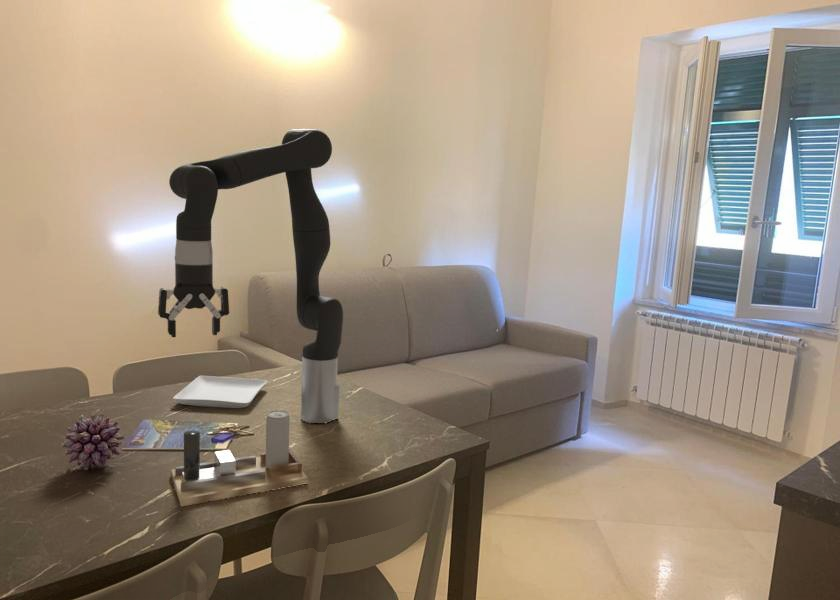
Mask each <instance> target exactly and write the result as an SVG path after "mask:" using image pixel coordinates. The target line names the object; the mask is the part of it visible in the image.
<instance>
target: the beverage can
mask: <svg viewBox="0 0 840 600" xmlns="http://www.w3.org/2000/svg"><path fill="white" fill-rule="evenodd" d="M290 419H291V418H290V413H289V412H288V411H285V410H278V409H277V410H272V411H269V412H267V413H266V419H265V420H266V421H265V423H266V424H265V453H266V467H267V468H268V469H269V470H270V467H272V466H278V465H285V464H288V461H289V449H290Z"/></svg>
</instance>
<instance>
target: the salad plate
mask: <svg viewBox="0 0 840 600" xmlns="http://www.w3.org/2000/svg"><path fill="white" fill-rule="evenodd" d="M267 383H268V380H265V379H255V378H246V377H245V378H244V377H231V376H229V377H228V376H214V375H212V376H211V375H198V377H196V378H194V380H192V381H191V382H190V383H188V384H187V385H186V386H185V387H184V388H183V389H181V390H180V391H179V392H178V393H176V394H175V395H174V396H173V397H172V400H174V402H176V403H178V404H181V405H186V406H194V407H209V408H226V409H227V408H228V409H243V408H247V407H248V406H250V405H251V403H252V402H253V400H254V398H255V397H256V396H257V395H258V393H259V392H261V390H262V389H263V388H264V387H266V385H267Z"/></svg>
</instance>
